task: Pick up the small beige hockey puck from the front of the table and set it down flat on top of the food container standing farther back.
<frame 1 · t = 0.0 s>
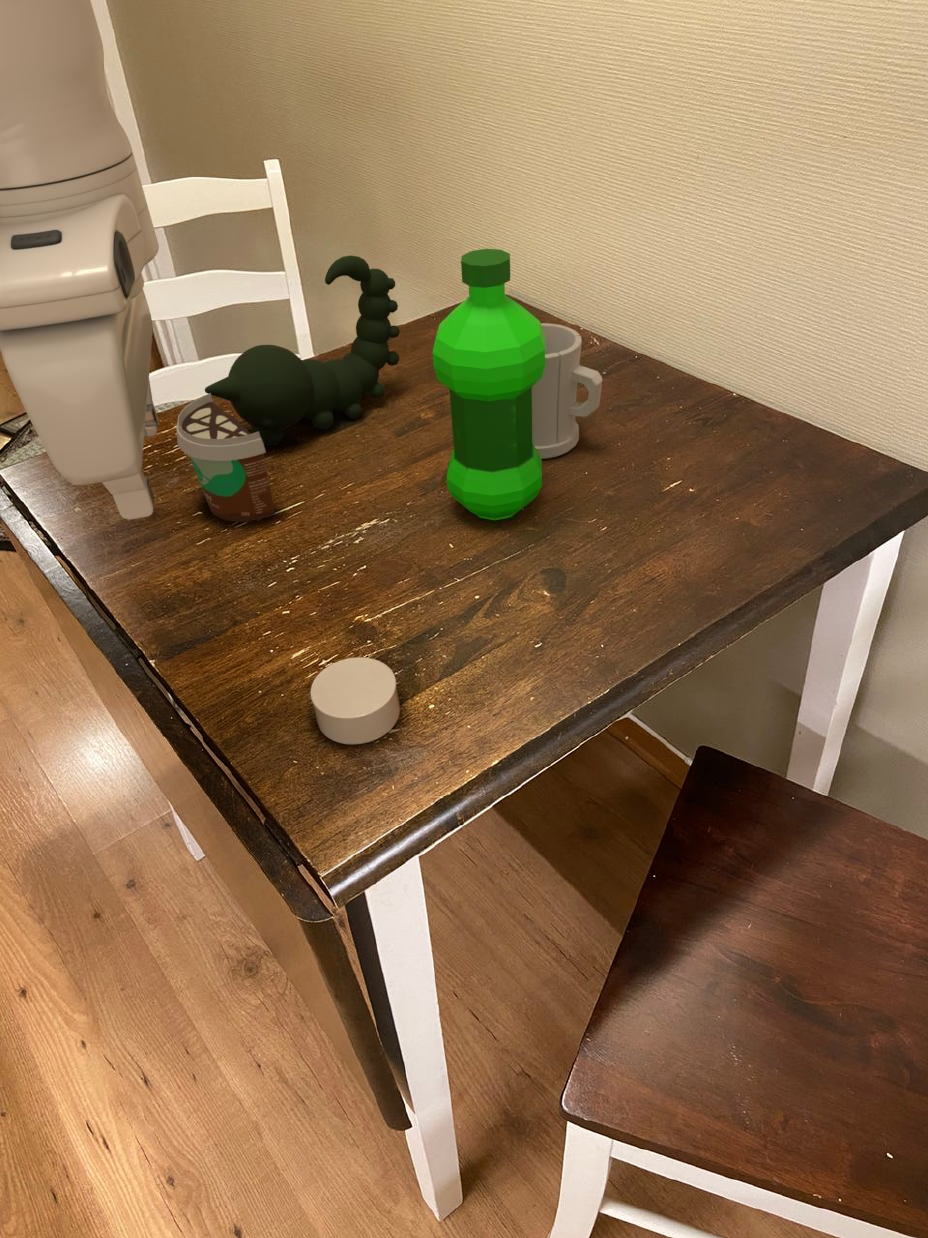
hand: (142, 469, 53), 24 cm above the table, tool pointing down, fingers open, 8 cm apart
plastic bottle: (496, 507, 91), on the table
beige hockey puck: (358, 713, 70), on the table
cup: (547, 442, 100), on the table
toy figurine: (317, 424, 107), on the table
food container: (229, 508, 94), on the table
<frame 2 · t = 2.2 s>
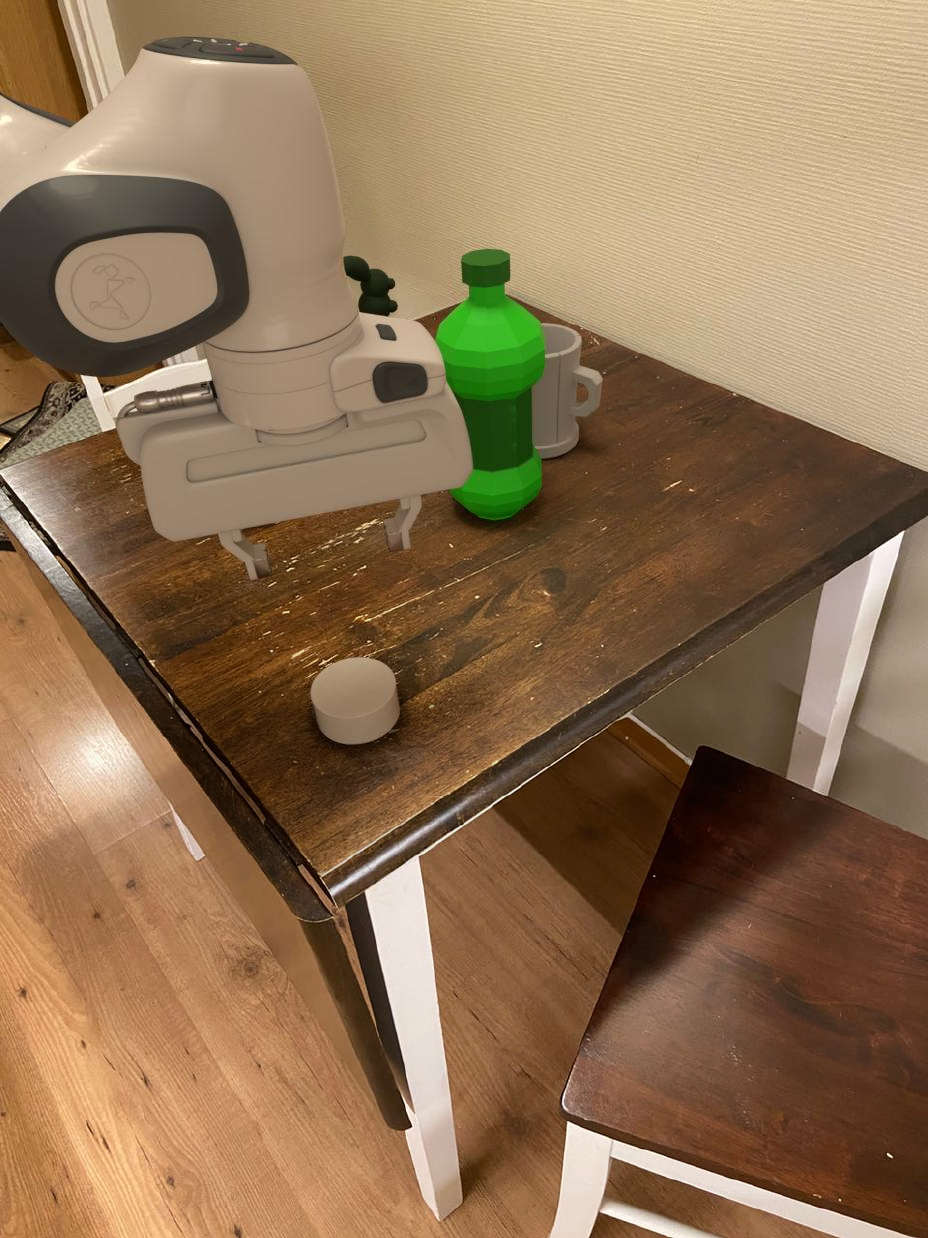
hand: (330, 559, 60), 15 cm above the table, tool pointing down, fingers open, 8 cm apart
nothing on the table moved.
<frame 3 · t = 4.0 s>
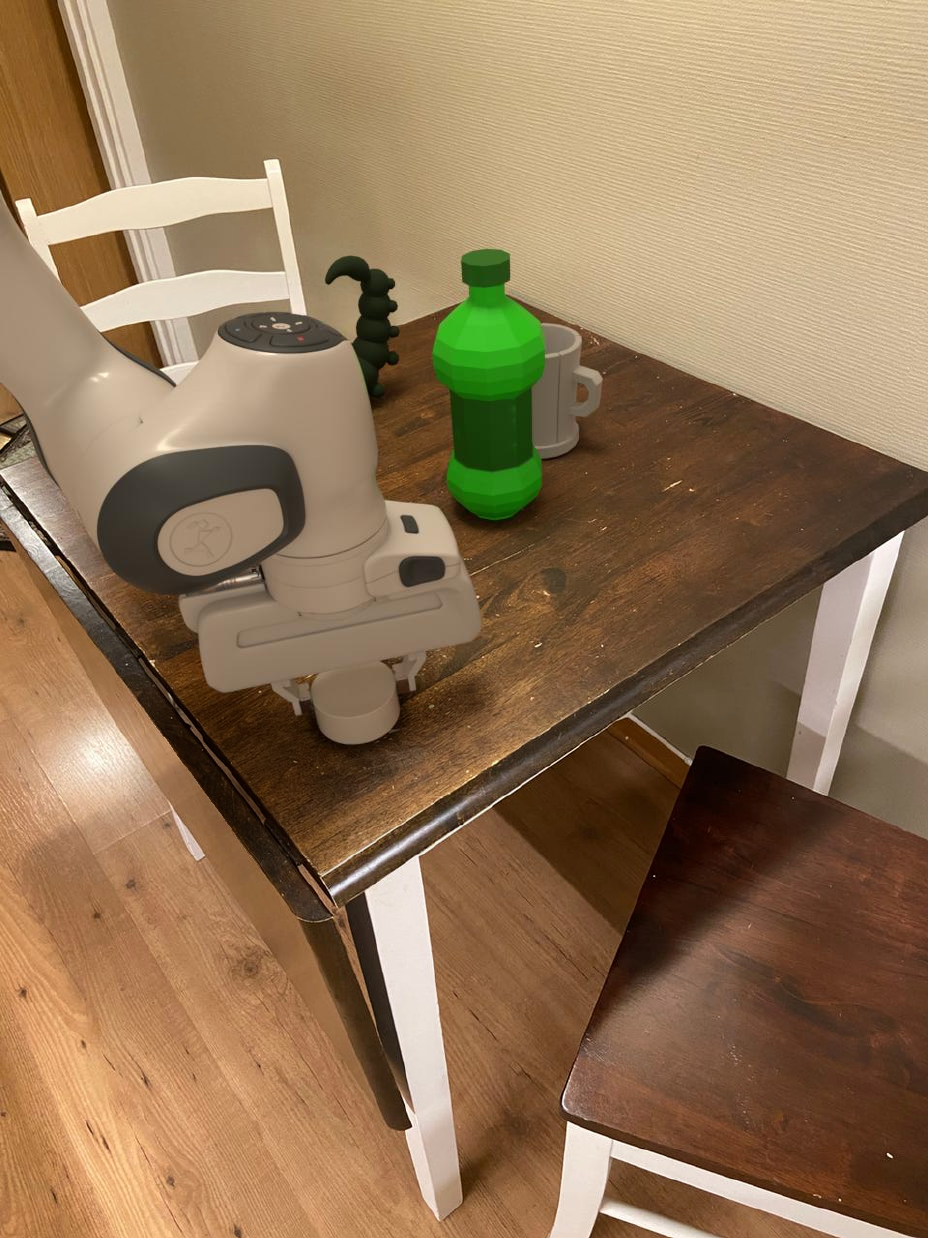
hand: (356, 697, 68), 2 cm above the table, tool pointing down, fingers closed on beige hockey puck, 6 cm apart
beige hockey puck: (358, 713, 70), on the table, touching gripper
everything else where it was.
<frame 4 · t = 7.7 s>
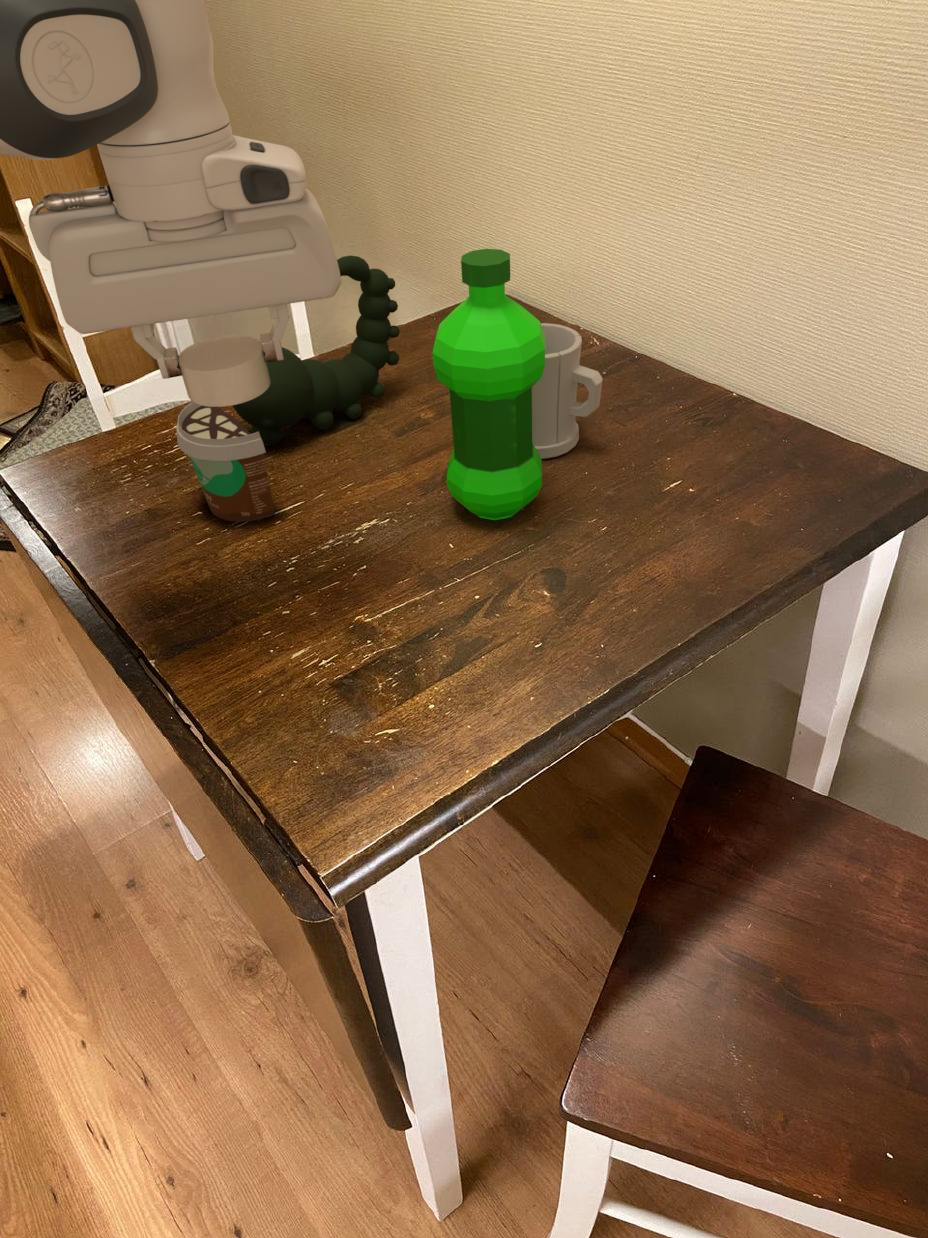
hand: (224, 366, 69), 21 cm above the table, tool pointing down, fingers closed on beige hockey puck, 6 cm apart
beige hockey puck: (229, 387, 71), point 20 cm above the table, touching gripper
everything else where it was.
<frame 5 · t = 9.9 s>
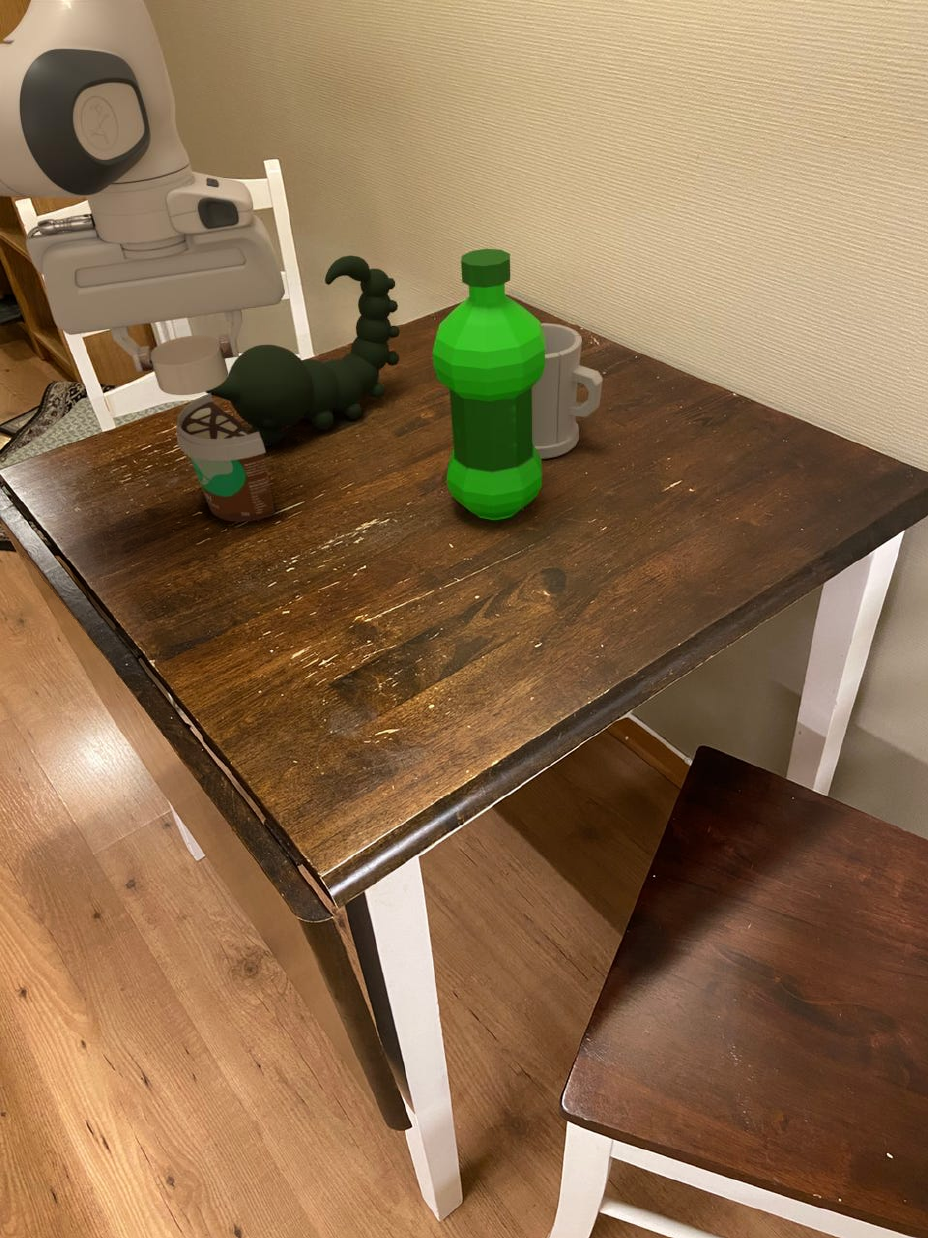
hand: (189, 361, 83), 16 cm above the table, tool pointing down, fingers closed on beige hockey puck, 6 cm apart
beige hockey puck: (193, 379, 84), point 14 cm above the table, touching gripper
everything else where it was.
when the fingers open (12 cm above the table, at t = 11.6 s): beige hockey puck stays where it is, resting on food container.
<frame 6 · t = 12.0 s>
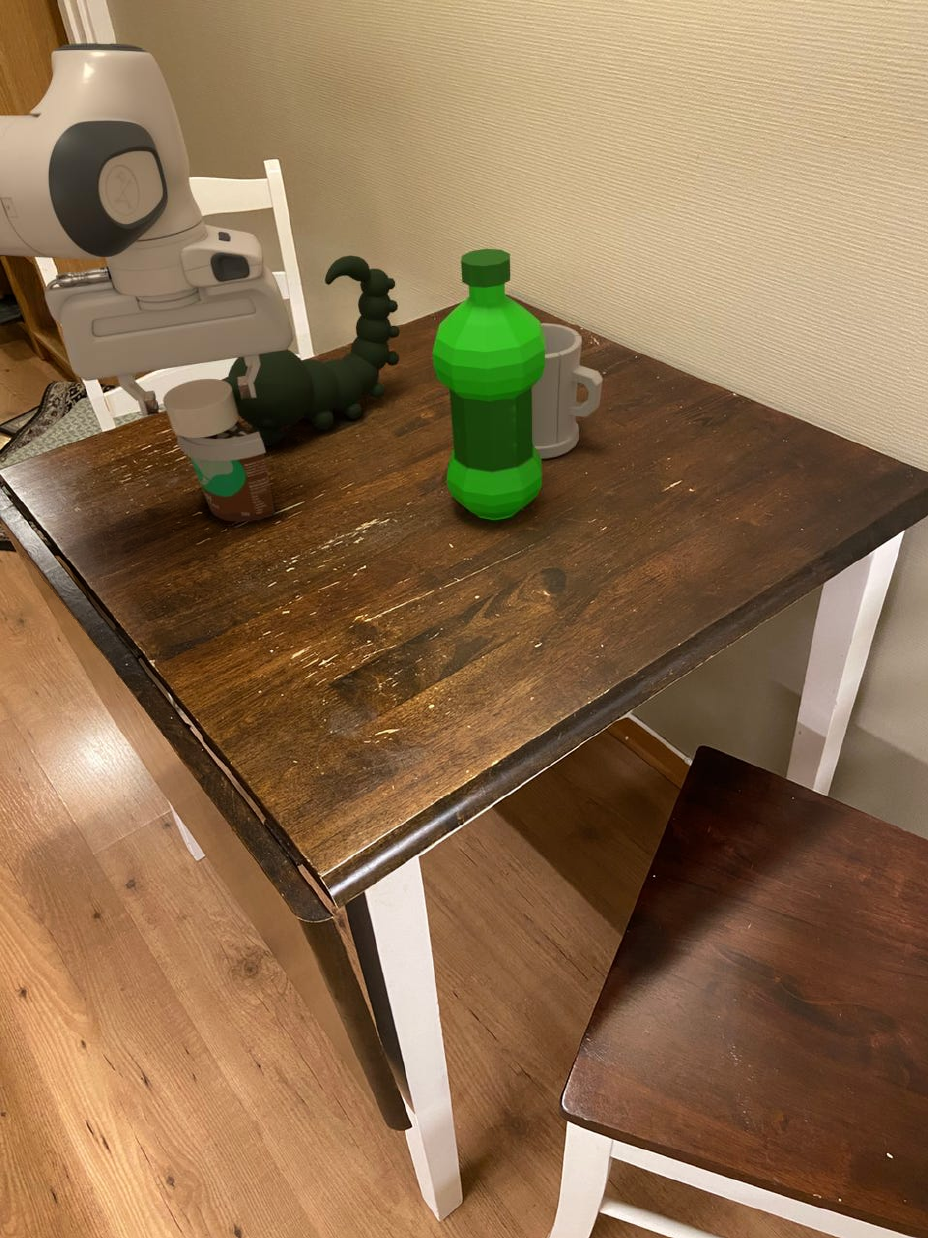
hand: (200, 404, 86), 12 cm above the table, tool pointing down, fingers open, 8 cm apart
beige hockey puck: (205, 421, 87), point 10 cm above the table, touching food container
food container: (229, 508, 94), on the table, touching beige hockey puck
everything else where it was.
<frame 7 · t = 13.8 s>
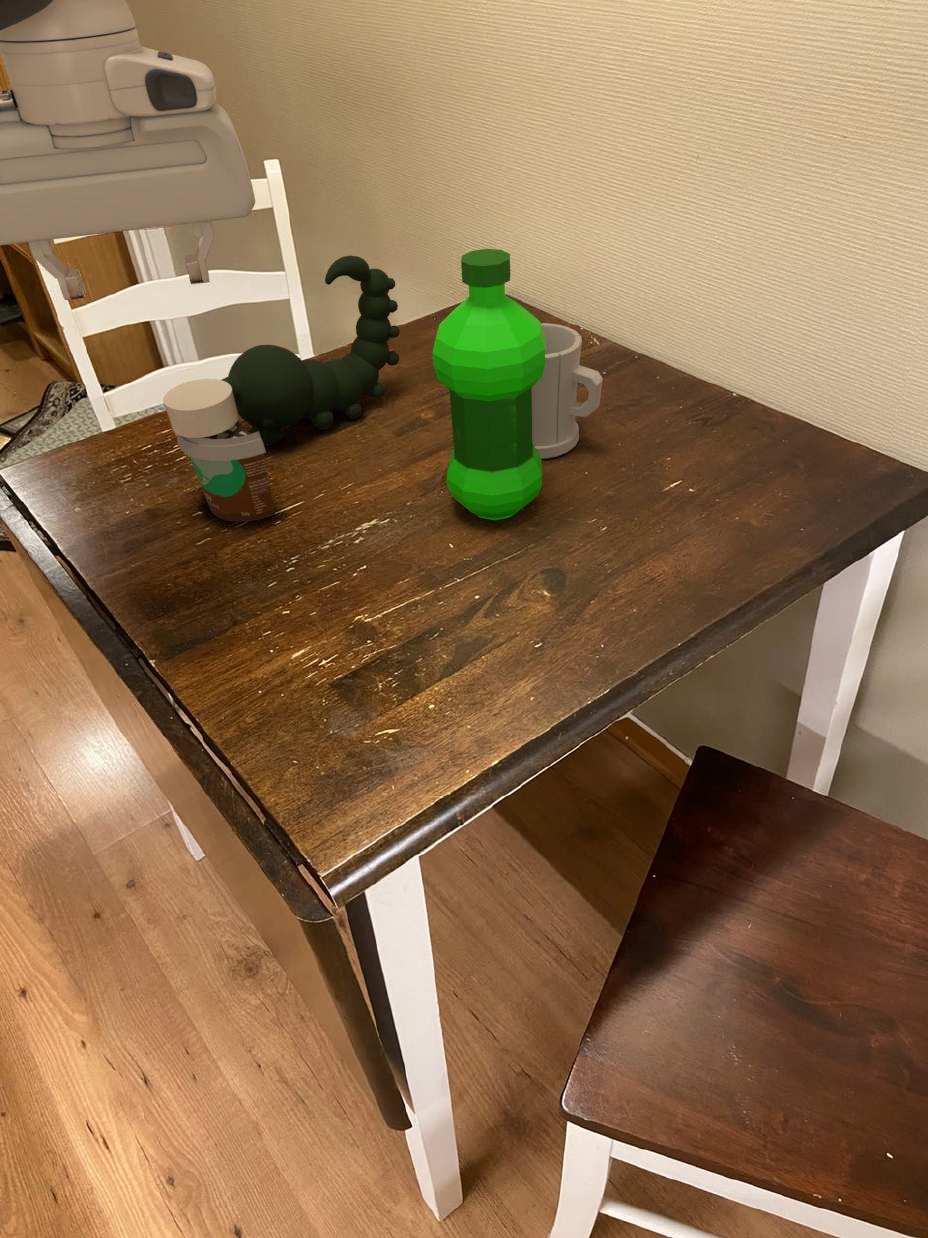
hand: (138, 288, 69), 27 cm above the table, tool pointing down, fingers open, 8 cm apart
nothing on the table moved.
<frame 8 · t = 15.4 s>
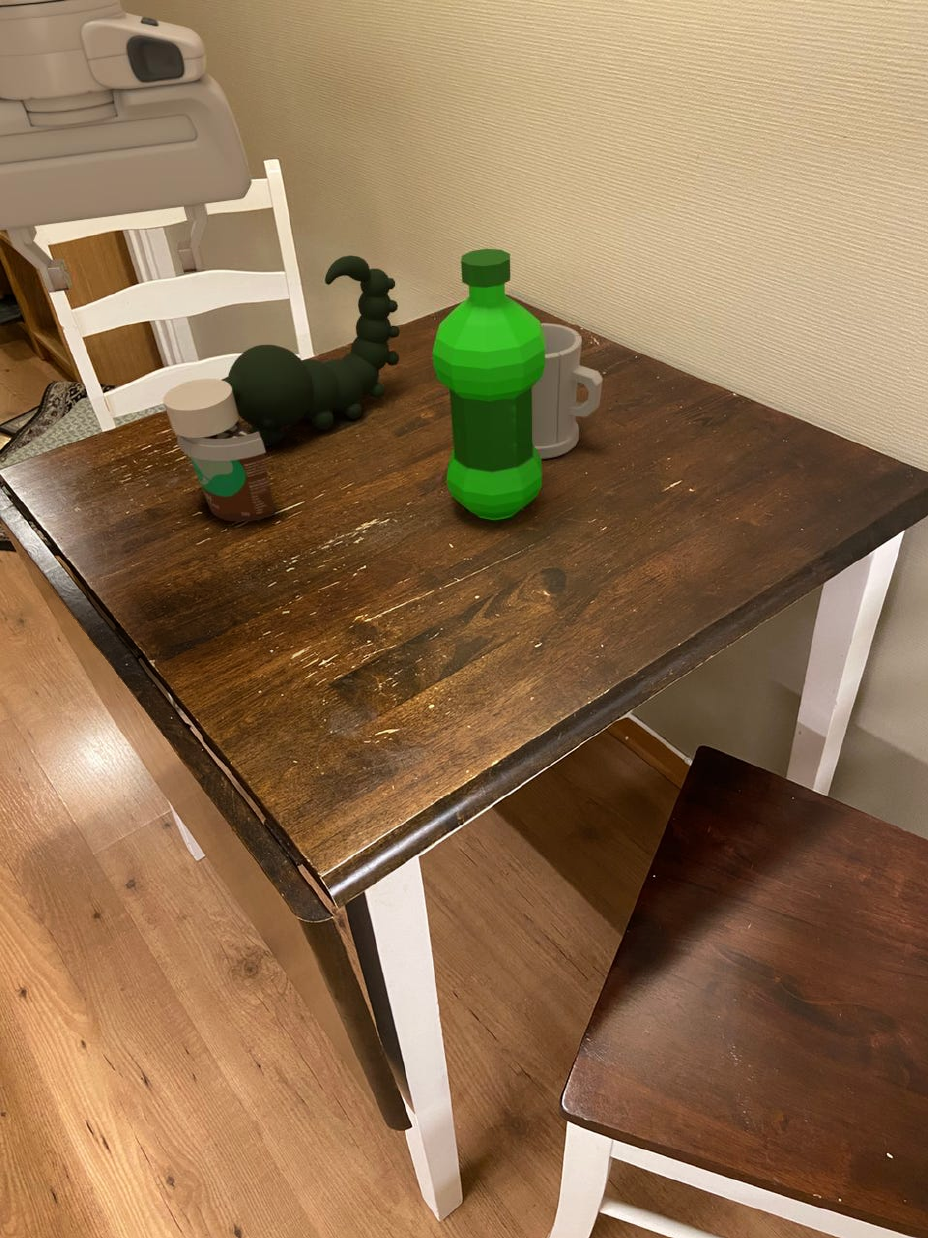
hand: (128, 279, 63), 29 cm above the table, tool pointing down, fingers open, 8 cm apart
nothing on the table moved.
at the end: beige hockey puck inside the target area on the food container (0.0 cm from its centre), point 10.2 cm above the food container's base; beige hockey puck tilted 0° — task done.
